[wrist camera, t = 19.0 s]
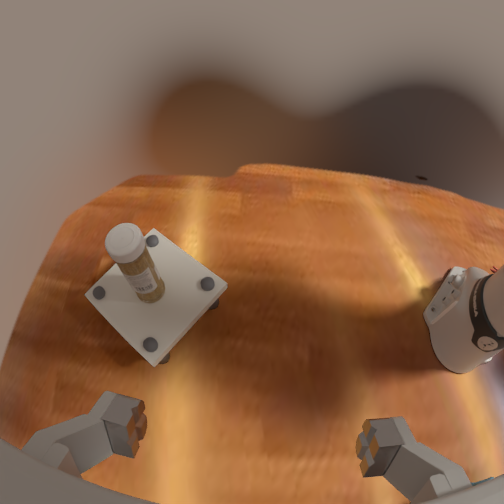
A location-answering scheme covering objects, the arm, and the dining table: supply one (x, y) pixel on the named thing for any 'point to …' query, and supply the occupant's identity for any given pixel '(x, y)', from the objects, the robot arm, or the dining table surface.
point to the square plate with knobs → (165, 309)
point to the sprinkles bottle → (135, 261)
